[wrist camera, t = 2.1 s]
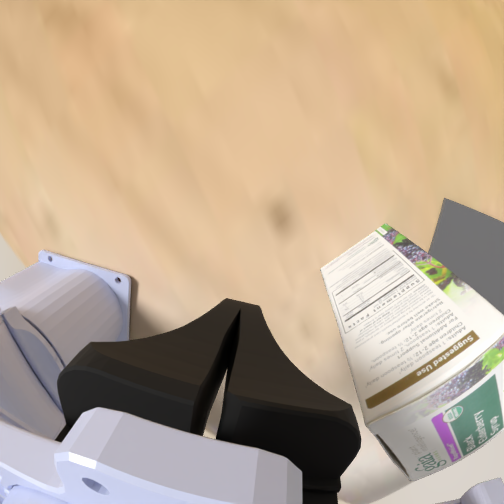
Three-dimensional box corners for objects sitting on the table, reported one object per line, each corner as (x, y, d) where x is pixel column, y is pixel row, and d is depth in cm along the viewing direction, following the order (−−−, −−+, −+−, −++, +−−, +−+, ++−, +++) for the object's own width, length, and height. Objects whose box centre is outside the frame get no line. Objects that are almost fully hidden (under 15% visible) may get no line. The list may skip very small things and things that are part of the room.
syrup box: (418, 283, 21) (531, 410, 7) (354, 326, 23) (412, 489, 9) (384, 221, 20) (523, 319, 6) (314, 269, 21) (360, 432, 8)
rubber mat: (383, 363, 23) (383, 365, 23) (444, 198, 19) (446, 198, 19) (502, 373, 23) (503, 374, 23) (555, 248, 19) (557, 249, 19)
